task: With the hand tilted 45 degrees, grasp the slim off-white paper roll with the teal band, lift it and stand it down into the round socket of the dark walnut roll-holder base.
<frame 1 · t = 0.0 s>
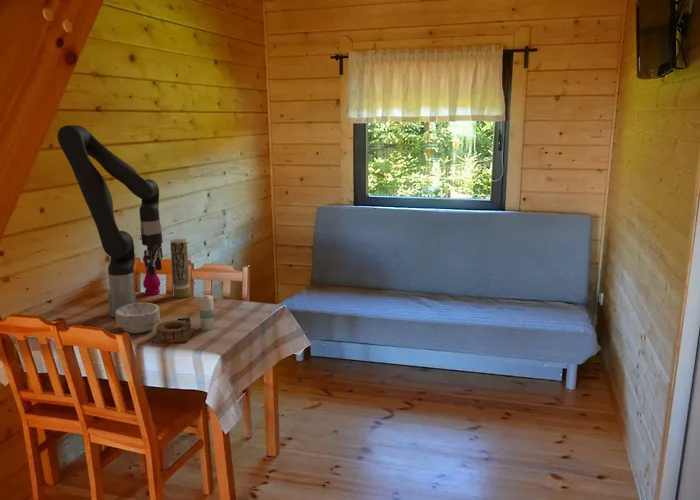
hand: (155, 272, 226), 17 cm above the table, tool pointing down, fingers open, 8 cm apart
holder: (174, 336, 207), on the table
paper bowls: (139, 329, 214), on the table
bark covered cylinder: (181, 296, 254), on the table
roll: (207, 328, 215), on the table
pepper mill: (152, 293, 257), on the table
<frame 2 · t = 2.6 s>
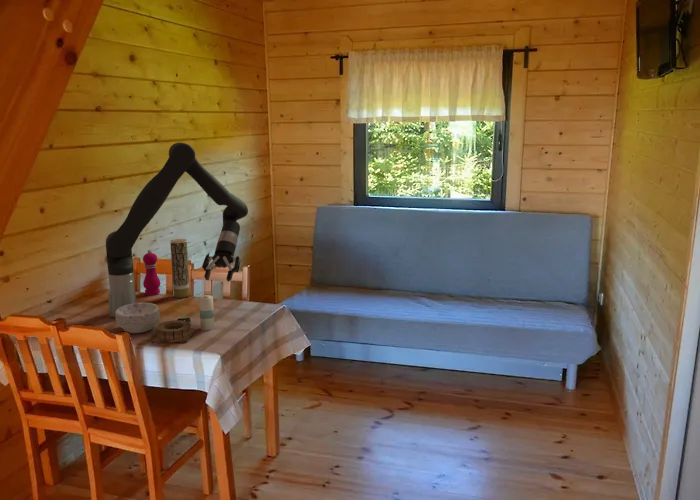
hand: (217, 280, 223), 15 cm above the table, tool tilted 45°, fingers open, 8 cm apart
nothing on the table moved.
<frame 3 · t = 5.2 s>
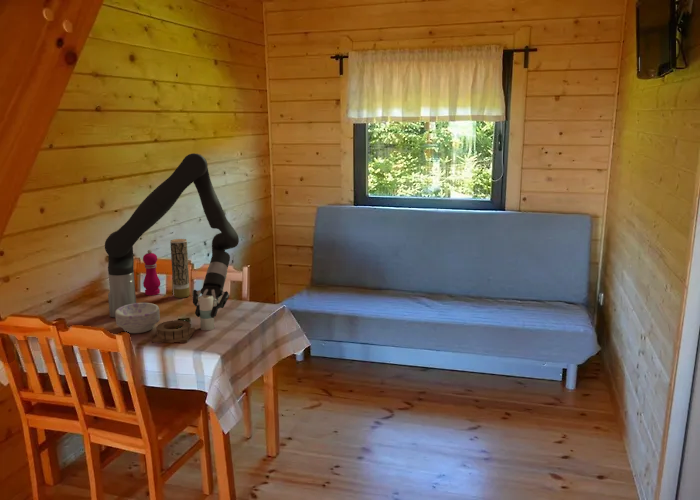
hand: (205, 316, 212), 5 cm above the table, tool tilted 45°, fingers closed on roll, 5 cm apart
roll: (207, 328, 215), on the table, touching gripper
everything else where it was.
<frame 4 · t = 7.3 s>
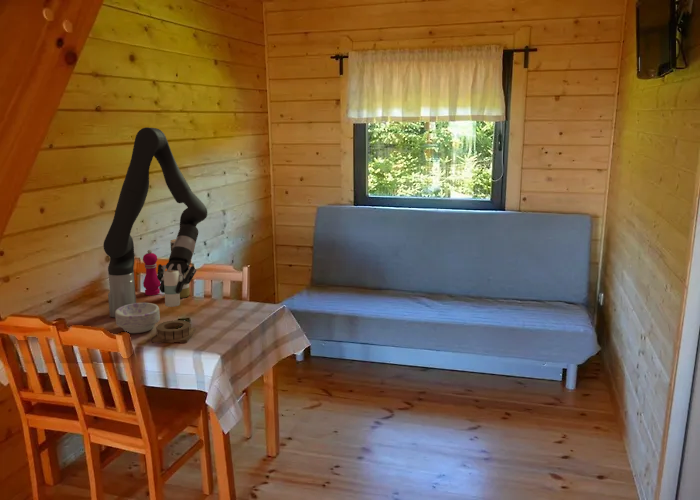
hand: (169, 292, 201), 17 cm above the table, tool tilted 45°, fingers closed on roll, 5 cm apart
roll: (172, 304, 204), point 12 cm above the table, touching gripper
everything else where it was.
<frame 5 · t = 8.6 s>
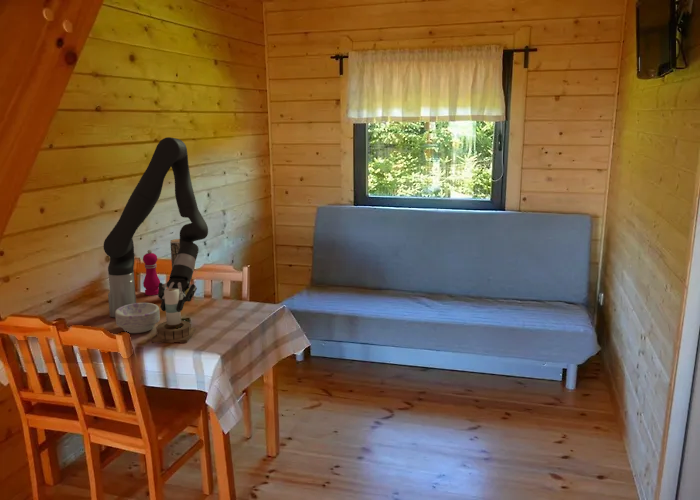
hand: (170, 310, 203), 10 cm above the table, tool tilted 45°, fingers closed on roll, 5 cm apart
roll: (173, 322, 205), point 5 cm above the table, touching gripper
everything else where it was.
when the fingers open (8 cm above the table, at t = 9.5 s): roll drops 2 cm, resting on holder.
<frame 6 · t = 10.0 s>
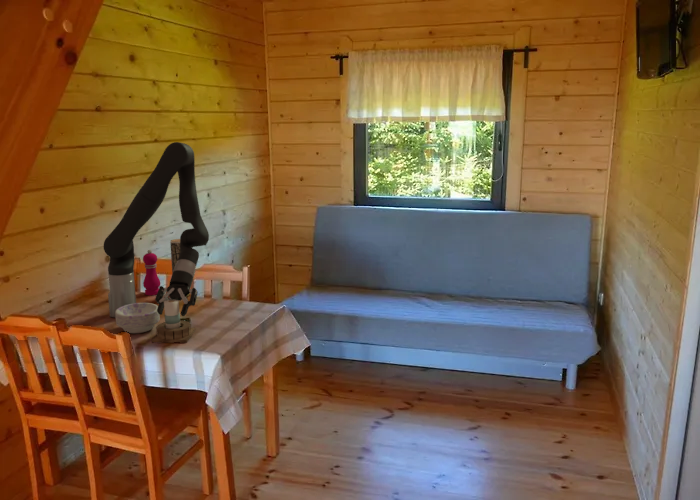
hand: (171, 314, 203), 9 cm above the table, tool tilted 45°, fingers open, 8 cm apart
roll: (173, 333, 206), point 1 cm above the table, touching holder
everything else where it was.
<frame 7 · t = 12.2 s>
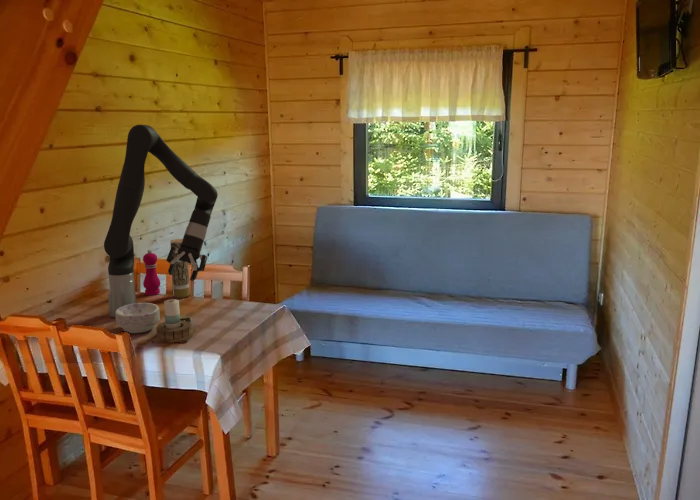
hand: (181, 277, 215), 18 cm above the table, tool tilted 25°, fingers open, 8 cm apart
nothing on the table moved.
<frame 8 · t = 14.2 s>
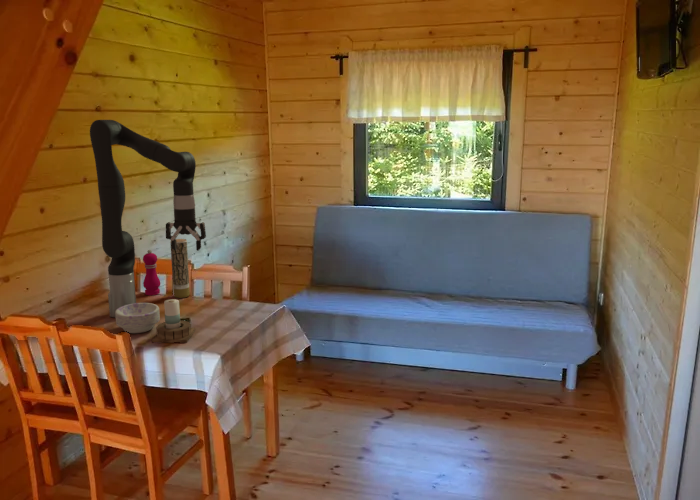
hand: (186, 250, 216), 28 cm above the table, tool pointing down, fingers open, 8 cm apart
nothing on the table moved.
at the end: roll 0.2 cm off-centre on the holder, point 1.0 cm above the holder's base; roll tilted 0°; the gripper is holding nothing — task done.
